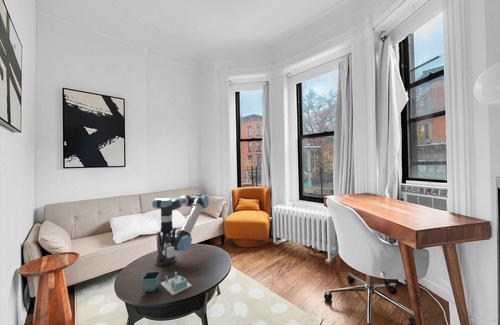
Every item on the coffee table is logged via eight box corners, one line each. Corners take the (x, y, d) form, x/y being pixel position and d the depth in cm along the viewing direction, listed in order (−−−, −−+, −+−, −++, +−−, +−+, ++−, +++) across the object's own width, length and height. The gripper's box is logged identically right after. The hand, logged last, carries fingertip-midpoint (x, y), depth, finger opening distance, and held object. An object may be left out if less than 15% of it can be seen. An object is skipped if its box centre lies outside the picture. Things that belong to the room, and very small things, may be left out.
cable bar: (160, 252, 152) (160, 243, 152) (165, 250, 155) (165, 242, 155) (168, 258, 142) (168, 249, 142) (174, 256, 145) (174, 247, 145)
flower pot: (147, 285, 135) (146, 271, 135) (161, 284, 135) (160, 271, 135) (141, 294, 126) (140, 279, 126) (156, 293, 127) (155, 278, 127)
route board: (160, 283, 136) (160, 277, 136) (179, 275, 146) (179, 269, 146) (172, 295, 125) (172, 288, 125) (191, 285, 134) (191, 279, 134)
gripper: (156, 224, 140) (157, 259, 140) (180, 219, 152) (180, 251, 152) (152, 222, 145) (153, 255, 145) (175, 217, 157) (175, 248, 157)
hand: (166, 253), depth 148 cm, fingers closed on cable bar, 3 cm apart
